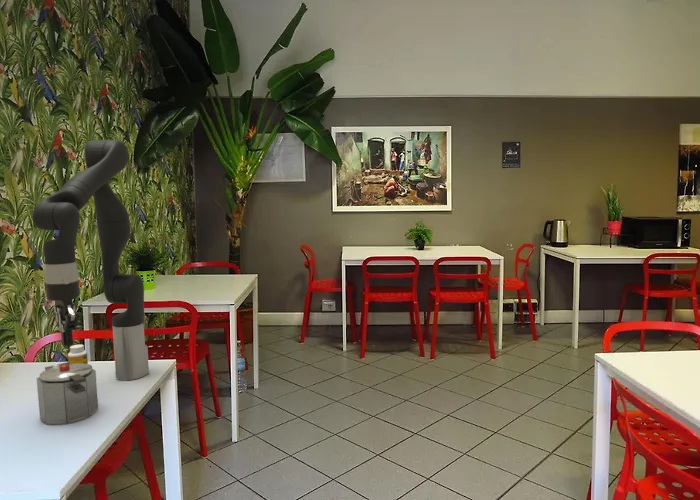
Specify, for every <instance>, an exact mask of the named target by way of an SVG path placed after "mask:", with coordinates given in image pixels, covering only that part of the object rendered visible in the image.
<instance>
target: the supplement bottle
mask: <svg viewBox="0 0 700 500" xmlns="http://www.w3.org/2000/svg"><path fill="white" fill-rule="evenodd" d="M88 360H89V359H88V352H87V350H85V345H84V344H75V345H73V344H72V345H70V347H69V352H68V354H67V362H70V364H77V363H83V364H89V362H88Z"/></svg>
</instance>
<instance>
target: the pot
mask: <svg viewBox="0 0 700 500" xmlns="http://www.w3.org/2000/svg"><path fill="white" fill-rule="evenodd" d="M83 377H84V378H85V379H86V382H82V383H78V384H75V383H73V382H72V381H70V380H66V381H57V382H47V381H42V380H40V376H38V377H36V388H37V397H38V398H37V401H38V410H39V412H38V413H39V420H40V422H41V423H43V424H45V425H47V426H49V425H50V426H61V425H69V424H74V423H77V422H80V421H84V420H86V419H89V418H91V417H92V416H94V415H95V414H96V413H97V412H98V410H99V400H98V399H99V397H98V387H97V372H96V370H95V369H93V368H92V371H91V372H90V373H89V374H87V375H85V376H83Z"/></svg>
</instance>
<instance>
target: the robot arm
mask: <svg viewBox="0 0 700 500" xmlns="http://www.w3.org/2000/svg"><path fill="white" fill-rule="evenodd" d="M85 144H86V145H85V146H84V160H85V165H86V168H85V169H84V170H81V171H79V172H78V173H77V174H74V175H73V176H72V177H70V178H69V179H68V180H67V181H66V183H65V184H63V186H62V187H61V188H60V189H59V190H58V191H56V192H53V193H52V194H50V195H49V196H47V197H45V198H44V199H43V200H41V201H40V202H38V203H37V204H36V206H35V207H34V208H33V212H32V216H31V217H32V219H31V220H32V222H33V224H34V226H35V227H37V229H40V230H42V231H58V233H57V234H58V235H57V237H56V238H54V239H50V240H47V241H45V242H44V243H43V258H44V282H45V283H44V284H45V292H46V293H45V294H46V299H47V300H48V301H53V302H54V305H53V307H52V308H51V310H52V311H51V312H52V313H53V316H54V320H55V323H56V327H57V328H59V332H60V334H61V335H60V336H61V344H62V346H64V347H68V346H73V344H74V337H73V331H75V330H76V328H77V323H78V319H79V314H78V312H76V306H75V304H74V301H73V300H74V299H77V298H78V297H80V284H79V281H80V280H79V271H78V266H77V260H76V259H77V258H76V248H75V247H76V241H77V234H78V231H79V227H80V221H81V219H80V217H81V215H80V210H81V209H83V208H84V207H85V206H86V205H87V203H88V202H89V201H90V199H91V198H92V197H93V203H94V210H95V217H96V219H95V220H96V226H97V233H98V238H99V243H100V244H99V246H100V253H101V261H102V264H101V265H102V281H103V283H102V285H103V293H104V296H105V300H106V301H107V302H108V303H110V304H126V305H127V306H126V310H125V311H122V312H120V313H118V314H115V315H113V316H112V321H111V322H112V323H111V325H112V337H113V339H112V340H113V353H114V366H115V371H114V372H115V378H116V380H119V381H131V380H136V379H140V378H143V377H145V376H146V375H149V374H150V367H149V365H150V364H149V353H148V352H149V350H148V348H149V347H148V345H147V344H145V342H146V341H145V328H144V327H145V326H144V316H145V315H144V314H145V286H144V282H143V281H144V280H143V279H142V277H141V276H140V275H138V274H121V273H120V260H121V259H120V258H121V256H122V253H123V251H124V250H125V247H126V246H127V244H128V242H129V240H130V238H131V234H132V233H131V224H130V223H131V221H130V217H129V211H128V210H127V208H126V206H125V205H124V203H123V202H122V201H121V200H120V198H119V197H118V196H117V195H116V193H115V192H114V190H113V189H112V187H111V186H110V180H111V179H113V178H114V177H115V176H116V175H117V174H119V173H120V172H121V171H123V170H124V169H125V168H126V167H127V165H128V163H129V150H128V148H127V146H126V144H125V143H124V142H123V141H121V140H120V139H119V140H117V139H94V140H89V141H87V142H86V143H85Z"/></svg>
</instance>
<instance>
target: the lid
mask: <svg viewBox="0 0 700 500" xmlns="http://www.w3.org/2000/svg"><path fill="white" fill-rule="evenodd" d="M92 369H93V366H92V364H89V363H88V364H83V363H77V364H70V362H68V361H67V362H62V363H57V364H53V365H49V366H46V367H45V366H44V370H43V371H41V372H40V374H39V377H40V380H42V381H47V382H57V381H66V380H70V381H72V382H73V383H75V384H78V383H82V382H86V379H85V378H84V377H83V376H85V375H87V374H89V373H90V372H91V371H92Z"/></svg>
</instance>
